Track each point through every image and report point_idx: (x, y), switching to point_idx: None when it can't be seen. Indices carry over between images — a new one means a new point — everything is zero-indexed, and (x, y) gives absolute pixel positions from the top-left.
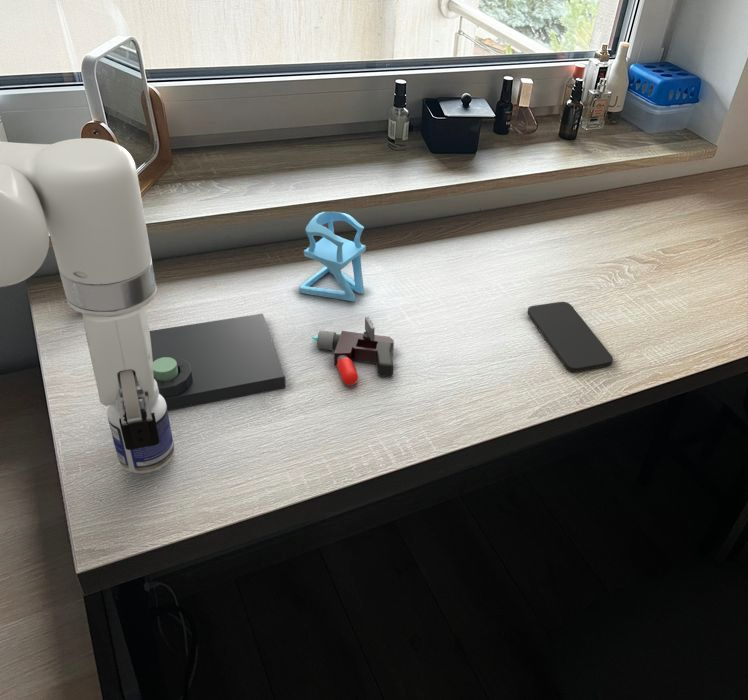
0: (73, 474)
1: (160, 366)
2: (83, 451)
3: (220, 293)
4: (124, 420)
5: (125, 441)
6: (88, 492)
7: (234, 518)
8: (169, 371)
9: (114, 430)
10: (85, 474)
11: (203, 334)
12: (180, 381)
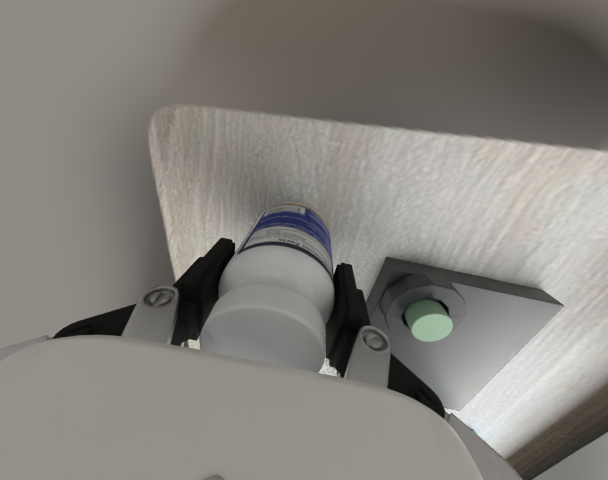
0: (328, 130)
1: (431, 323)
2: (369, 157)
3: (549, 385)
4: (67, 328)
5: (213, 248)
6: (280, 142)
7: (176, 274)
8: (411, 327)
9: (253, 240)
10: (318, 147)
11: (477, 360)
12: (389, 323)
